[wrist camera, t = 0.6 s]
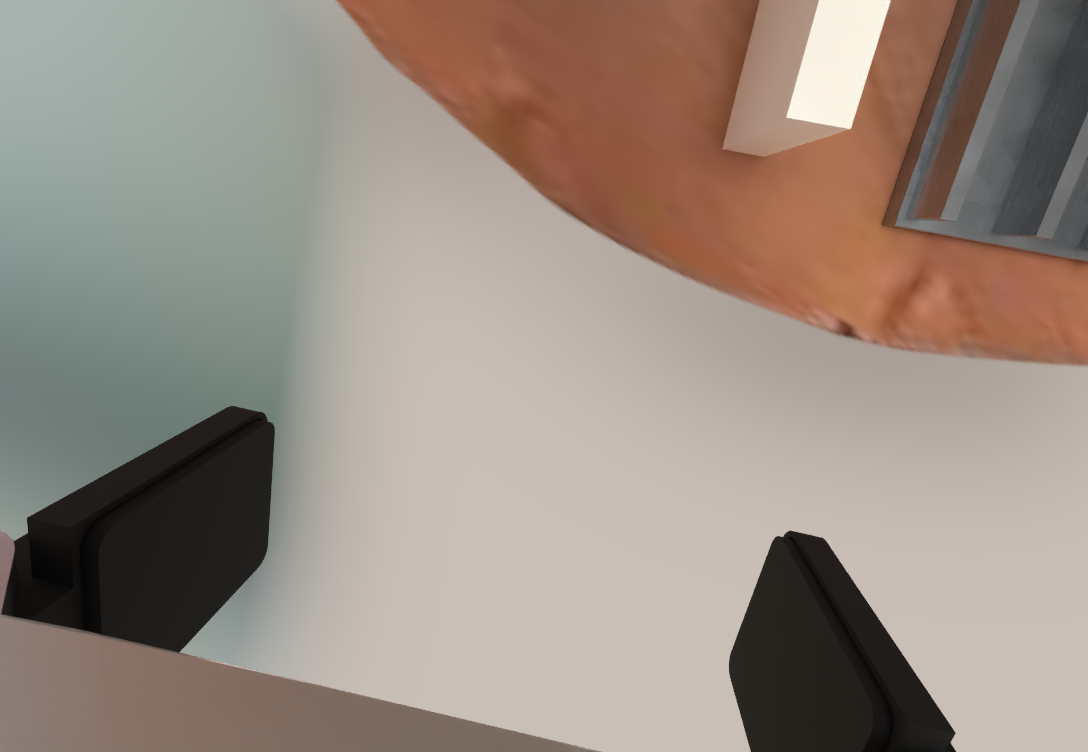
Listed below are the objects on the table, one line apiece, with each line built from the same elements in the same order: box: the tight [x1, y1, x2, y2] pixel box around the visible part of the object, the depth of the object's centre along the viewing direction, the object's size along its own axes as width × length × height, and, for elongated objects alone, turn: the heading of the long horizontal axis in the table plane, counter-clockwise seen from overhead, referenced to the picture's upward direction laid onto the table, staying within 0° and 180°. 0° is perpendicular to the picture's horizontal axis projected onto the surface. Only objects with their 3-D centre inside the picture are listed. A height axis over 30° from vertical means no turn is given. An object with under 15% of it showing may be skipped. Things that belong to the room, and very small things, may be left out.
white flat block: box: [722, 0, 891, 157], centre depth 27 cm, size 2×10×12 cm, turn 169°
